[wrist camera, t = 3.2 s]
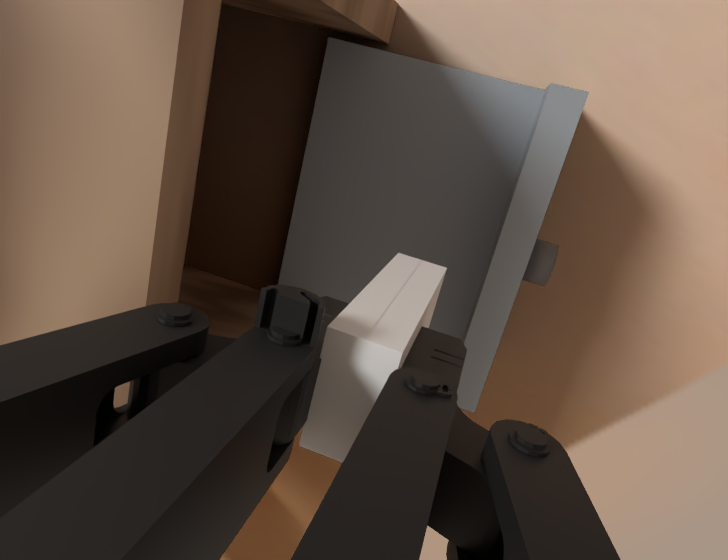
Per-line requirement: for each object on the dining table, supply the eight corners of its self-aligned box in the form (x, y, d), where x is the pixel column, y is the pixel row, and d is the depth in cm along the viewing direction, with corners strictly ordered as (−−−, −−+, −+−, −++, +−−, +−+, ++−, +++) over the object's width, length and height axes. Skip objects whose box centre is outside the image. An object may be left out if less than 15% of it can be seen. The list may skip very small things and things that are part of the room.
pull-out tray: (284, 293, 35) (235, 329, 29) (337, 41, 30) (292, 20, 24) (501, 366, 33) (498, 421, 27) (597, 105, 28) (619, 99, 22)
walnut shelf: (153, 283, 38) (-183, 432, 20) (195, -43, 31) (-246, -274, 13) (318, 340, 36) (113, 564, 18) (398, 3, 29) (207, -193, 11)
